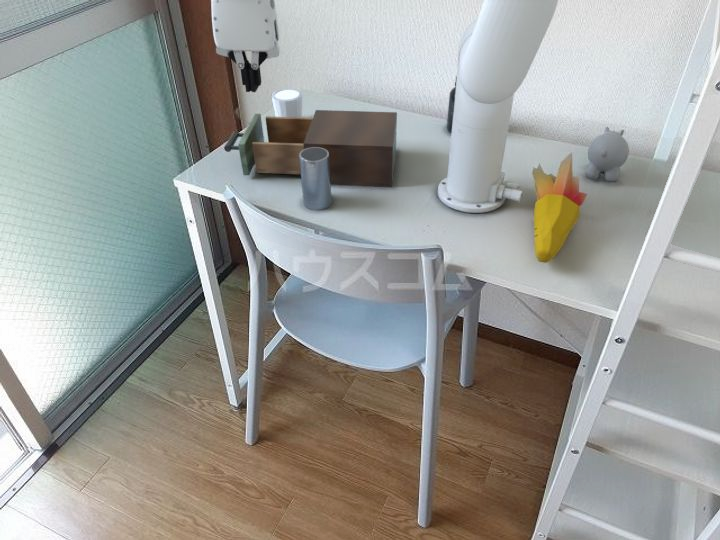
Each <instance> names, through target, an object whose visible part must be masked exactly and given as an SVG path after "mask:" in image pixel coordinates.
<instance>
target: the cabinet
mask: <svg viewBox="0 0 720 540" xmlns="http://www.w3.org/2000/svg"><path fill="white" fill-rule="evenodd" d="M312 118H313V119H312V122H311V125H310V127H309V130H308V133H307V135H306V138H305V141H304V143H303V145H304V149H307V148H311V147H320V148H324V149H326V150H327V151H328V152H329V163H330V181H331V185H333V186H335V185H337V186H360V187H384V188H385V187H386V188H393V181H394V172H395V163H396V153H397V130H398V129H397V128H398V127H397V124H398V112H396V111H395V112H394V111H366V110H365V111H362V110H361V111H360V110H331V109H329V110H328V109H315V111H314V113H313V117H312Z"/></svg>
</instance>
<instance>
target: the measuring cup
mask: <svg viewBox="0 0 720 540" xmlns="http://www.w3.org/2000/svg"><path fill="white" fill-rule="evenodd" d="M299 158H300V169H301V174H300V178H301V179H300V180H301V189H302V200H303V206H304V207H305V208H306V209H308V210H312V211H320V210H321V211H322V210H325V209H327V208H329V207H330V206H331V205H332V200H333V199H332V187H331V185H332V184H331V181H330V163H329V152H328V151H327V150H326V149H324V148H320V147H311V148H307V149H304V150H302V151H301V152H300V154H299Z"/></svg>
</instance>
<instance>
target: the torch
mask: <svg viewBox="0 0 720 540" xmlns="http://www.w3.org/2000/svg"><path fill="white" fill-rule="evenodd" d="M531 176H532V178H533V181H534V187H535V193H536V199H537V200H536V201H535V202H534V210H533V231H534V235H533V237H534V253H535V257H536V260H537V261H538V262H539V263H543V264H547V263H549V262H551V261H552V260H553V259H554V258H555V257H556V255H557V254H558V253H559V252H560V250H561V249H562V248H563V246H564V244H565V242H566V240H567V239H568V236H569V234H570V232H571V231H572V229H573V228H574V226H575V225H576V224H577V222H578V220H579V219H580V207H581V206H582V205H583V203H584V202H585V200H586V198H587V196H588V193H586V192H582V191H580V183H581V181H580V180H581V176H579V175H573V151H571V152H570V153H569V154H568V155H567V156H566V157H565V158H563V160H561V162H560V164H559V167H558V170H557V173H556V176H555V175H554V174H552V173H549V174H547V173H546V172H544V169H543V168H542V165H541V163H539V164H538V165H537V168H536V167H532V171H531Z"/></svg>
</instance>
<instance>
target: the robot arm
mask: <svg viewBox="0 0 720 540" xmlns="http://www.w3.org/2000/svg"><path fill="white" fill-rule="evenodd" d="M210 2H211V3H210V4H211V5H210V6H211V23H212V24H211V25H212V33H213V34H212V35H213V39H214V44H215V52H216V54H217V55H219V56H222V57H226V58H229V59H230V60H231V61H233V62H234V63H235V64H236V66H237V69H239V70H240V76H241V84H242V86H244V87H245V92H246V93H250V92H252V93H256V92H257V91H258V89H259V87H260V86H261V85H262V74H261V65H262V64H263V63H264V62H265V61H266V60H268V59H273V58H277V57H279V56H280V55H281V49H280V45H279V43H278V42H279V40H280V28H279V21H278V13H277V9H276V4H275V0H210ZM558 2H559V0H483V3H482V5H481V9H480V11H479V15H478V17H477V18H476V19H475V20H473V21H472V22H470V24H469V25H468V26H467V27H466V28H465V30H464V31H463V33H462V36H461V38H460V40H459V45H458V50H457V51H458V52H457V68H456V76H457V80H456V79H455V82H456V93H455V103H454V114H453V123H452V134H451V133H450V134H451V136H450V145H449V155H448V167H447V176H446V177H445V178H443V179H442V180H441V181H439V184H438V187H437V196H438V198H439V201H441V202H442V203H443V204H444V205H446V206H447V207H449V208H451V209H454V210H456V211H458V212H459V211H460V212H464V213H473V214H480V213H482V214H483V213H488V212H492V211H494V210H496V209H498V208H500V207H501V206H502V205H503V204H504V203H505V201H506V199H509V200H510V201H511V200H512V201H516V202H521V200H522V197H523V190H520V189H519V187H520V184H519V183H515V182H509V181H507V180H506V179H505V176H506V172H504V171H502V169H503V162H504V157H505V153H506V152H505V151H506V145H507V139H508V134H509V133H508V132H509V125H510V121H511V116H512V110H513V103H514V95H515V93H516V92H517V91H518V89H520V87H521V85H522V84H523V82H524V81H525V79H526V76H527V75H528V72H529V71H530V69H531V66H532V64H533V63H534V60H535V58H536V56H537V53H538V51H539V49H540V47H541V45H542V43H543V40H544V38H545V36H546V33H547V32H548V29H549V27H550V24H551V23H552V21H553V17H554V15H555V13H556V9H557V6H558ZM247 52H251V54H250V55H251V57H250V61H249V57H248V54H247Z"/></svg>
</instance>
